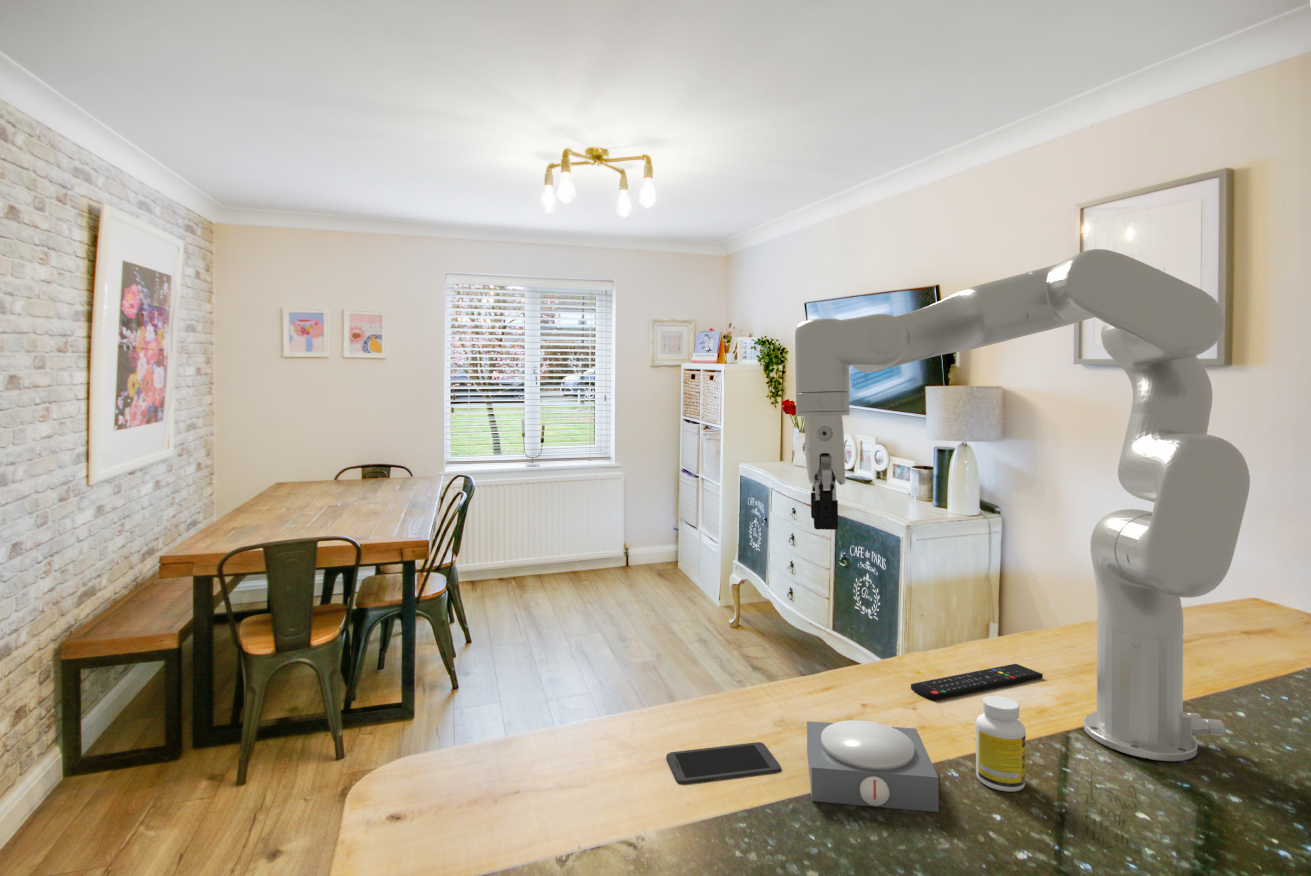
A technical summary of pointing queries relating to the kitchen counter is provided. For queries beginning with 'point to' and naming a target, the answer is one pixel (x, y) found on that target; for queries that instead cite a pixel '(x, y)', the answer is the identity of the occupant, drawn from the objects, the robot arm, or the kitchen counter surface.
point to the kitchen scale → (870, 766)
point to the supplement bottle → (1000, 745)
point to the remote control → (974, 681)
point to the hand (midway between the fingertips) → (823, 523)
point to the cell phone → (721, 763)
